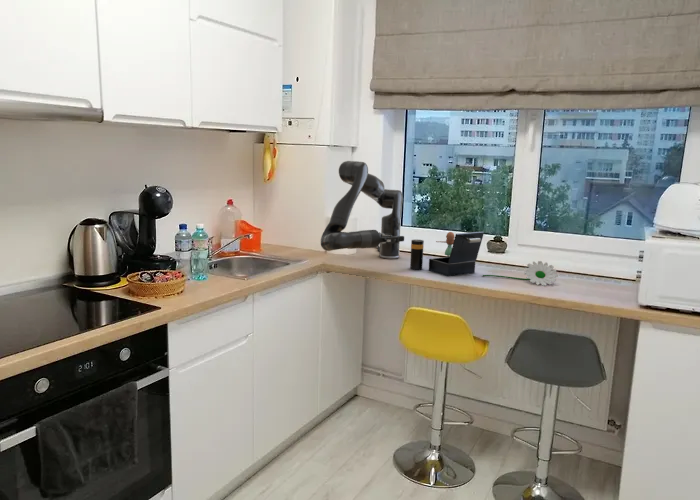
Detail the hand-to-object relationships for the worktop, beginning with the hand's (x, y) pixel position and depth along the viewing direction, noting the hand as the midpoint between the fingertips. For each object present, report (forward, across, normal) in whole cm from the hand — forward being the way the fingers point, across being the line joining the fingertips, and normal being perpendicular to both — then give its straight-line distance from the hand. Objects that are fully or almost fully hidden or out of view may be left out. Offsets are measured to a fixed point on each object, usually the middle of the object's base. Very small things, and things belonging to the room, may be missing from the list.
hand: (397, 237), depth 231 cm
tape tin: (+11, 0, +15) cm, 19 cm away
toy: (+34, +4, +15) cm, 38 cm away
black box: (+22, -11, +15) cm, 29 cm away
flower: (+38, -35, +15) cm, 54 cm away
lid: (+22, -19, +3) cm, 29 cm away
